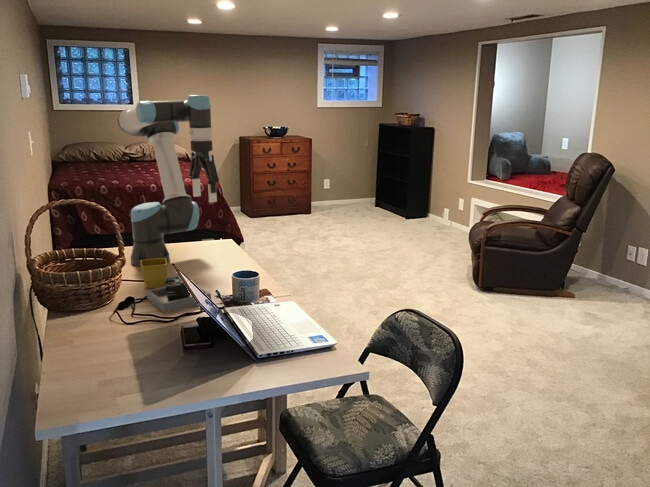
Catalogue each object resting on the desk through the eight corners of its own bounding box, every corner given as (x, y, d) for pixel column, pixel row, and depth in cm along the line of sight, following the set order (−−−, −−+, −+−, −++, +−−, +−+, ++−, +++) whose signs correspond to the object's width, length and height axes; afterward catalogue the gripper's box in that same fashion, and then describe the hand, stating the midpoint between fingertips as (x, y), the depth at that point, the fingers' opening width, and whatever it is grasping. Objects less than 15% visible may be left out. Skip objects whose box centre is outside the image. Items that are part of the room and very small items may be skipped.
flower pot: (167, 281, 207) (165, 257, 204) (169, 288, 199) (167, 264, 196) (142, 283, 204) (140, 259, 202) (143, 291, 196) (140, 266, 194)
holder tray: (147, 299, 188) (146, 290, 188) (192, 289, 197) (192, 281, 197) (163, 313, 177) (163, 303, 176) (211, 302, 186) (210, 293, 185)
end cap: (191, 302, 184) (190, 282, 182) (169, 304, 181) (167, 284, 180) (188, 292, 193) (186, 273, 191) (166, 294, 191) (165, 275, 189)
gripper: (177, 138, 209) (181, 195, 214) (206, 142, 189) (210, 205, 195) (196, 137, 213) (200, 193, 218) (226, 141, 193) (229, 203, 199)
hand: (204, 199), depth 207 cm, fingers open, 13 cm apart
